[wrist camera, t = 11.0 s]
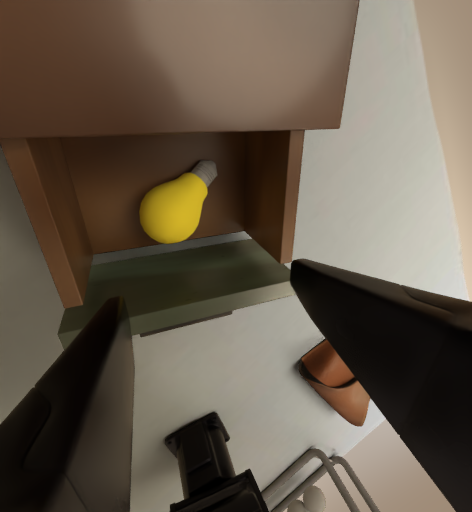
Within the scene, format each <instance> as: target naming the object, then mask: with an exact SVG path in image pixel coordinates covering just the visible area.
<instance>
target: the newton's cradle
mask: <svg viewBox="0 0 472 512" xmlns="http://www.w3.org/2000/svg"><path fill="white" fill-rule="evenodd" d="M313 457H316V458H319V459H321V461H322V462H323V464H324V465H323V466H322V467H320V468H319V469H318V470H317V471H316V472H315V473H314V474H313V475H312V476H310V477H309V478H308V479H307V480H306V481H305V482H304V483H303V484H302V485H300V486H299V487H298V488H297V489H296V490H295V491H294V492H293V493H292V494H291V495H289V496H288V497H287V498H286V499H285V500H284V501H283V502H282V503H281V504H279V505H278V506H277V507H276V508H275V509H274V510H273V511H272V512H283V511H284V510H285V509H286V508H287V507H288V509H287V512H323V511H324V509H325V506H326V501H325V496H324V494H323V492H322V491H321V490H320V489H319V488H318V487H316V486H312V485H313V484H314V483H315V482H316V481H317V480H318V479H319V478H320V477H322V476H323V475H324V474H325V473H326V472H327V471H328V473H329V475H330V476H331V478H332V480H333V481H334V483H335V485H336V487H337V488H338V490H339V492H340V493H341V495H342V497H343V498H344V500H345V502H346V504H347V506H348V507H349V509H350V511H351V512H360V511H359V509H358V507H357V506H356V504H355V503H354V501H353V499H352V497H351V496H350V494H349V492H348V491H347V489H346V487H345V486H344V484H343V483H342V481H341V479H340V477H339V476H338V474H337V473H336V471H335V469H334V467H333V466H334V465H335V464H337V463H339V464H341V465H342V466H343V467H344V468H345V470H346V472H347V473H348V475H349V476H350V478H351V480H352V481H353V482H354V484H355V486H356V487H357V489H358V491H359V492H360V494H361V495H362V497H363V498H364V500H365V502H366V503H367V505H368V506H369V508H370V510H371V511H372V512H380V511H379V509H378V508H377V506H376V505H375V503H374V502H373V500H372V499H371V497H370V496H369V494H368V493H367V491H366V490H365V488H364V487H363V485H362V484H361V482H360V480H359V479H358V477H357V476H356V474H355V473H354V471H353V470H352V468H351V467H350V465H349V464H348V462H347V461H346V460H345V459H344V458H342V457H339V456H334V457H332V458H330V459H328V458H327V456H326V455H325V454H324V452H322V451H321V450H319V449H316V448H314V449H310V450H309V451H307V452H306V453H305V454H304V455H303V456H302V457H301V458H300V459H299V460H297V461H296V462H295V463H294V464H293V465H292V466H291V467H290V468H289V469H288V470H286V471H285V472H284V473H283V474H282V475H281V476H280V477H279V478H278V479H277V480H276V481H274V482H273V483H272V484H271V485H270V486H269V487H268V488H267V489H266V490H265V491H264V492H262V493H261V494H262V497H263V499H264V501H266V500H267V499H268V498H269V497H270V496H271V495H272V494H273V493H274V492H275V491H276V490H278V489H279V488H280V487H281V486H282V485H283V484H284V483H285V482H286V481H287V480H289V479H290V478H291V477H292V476H293V475H294V474H295V473H296V472H297V471H298V470H300V469H301V468H302V467H303V466H304V465H305V464H306V463H307V462H308V461H309V460H311V459H312V458H313ZM303 493H304V494H303ZM302 494H303V502H304V503H303V502H302V501H300V500H296V499H297V498H298V497H299V496H300V495H302Z"/></svg>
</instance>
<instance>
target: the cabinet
mask: <svg viewBox="0 0 472 512" xmlns="http://www.w3.org/2000/svg"><path fill="white" fill-rule="evenodd" d="M358 7H359V0H0V139H22V138H54V137H87V136H120V135H152V134H185V133H218V132H251V131H283V130H316V129H339V128H340V123H341V117H342V111H343V104H344V98H345V91H346V85H347V78H348V72H349V65H350V59H351V52H352V46H353V39H354V33H355V26H356V20H357V13H358Z"/></svg>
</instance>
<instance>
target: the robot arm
mask: <svg viewBox="0 0 472 512" xmlns="http://www.w3.org/2000/svg"><path fill="white" fill-rule="evenodd" d="M290 284H291V287H292V288H293V290H294V292H295V293H296V295H297V297H298V298H299V300H300V302H301V303H302V305H303V307H304V308H305V310H306V312H307V313H308V315H309V316H310V318H311V319H312V321H313V322H314V323H315V325H316V326H317V327H318V329H319V330H320V331H321V333H322V334H323V335H324V337H325V338H326V339H327V341H328V342H329V343H330V345H331V346H332V347H333V349H334V350H335V351H336V353H337V354H338V355H339V357H340V358H341V359H342V361H343V362H344V363H345V365H346V366H347V367H348V369H349V370H350V371H351V373H352V374H353V375H354V377H355V378H356V379H357V380H358V382H359V383H360V384H361V386H362V387H363V388H364V390H365V391H366V392H367V394H368V395H369V396H370V398H371V399H372V400H373V402H374V403H375V404H376V406H377V407H378V408H379V410H380V411H381V412H382V414H383V415H384V416H385V418H386V419H387V420H388V422H389V423H390V424H391V425H392V427H393V428H394V429H395V431H396V432H397V434H399V435H400V438H401V439H402V440H403V442H404V443H405V444H406V446H407V447H408V448H409V450H410V451H411V452H412V454H413V455H414V456H415V458H416V459H417V460H418V462H419V463H420V464H421V466H422V467H423V468H424V470H425V471H426V472H427V474H428V475H429V476H430V478H431V479H432V480H433V482H434V483H435V484H436V486H437V487H438V488H439V490H440V491H441V492H442V494H443V495H444V496H445V498H446V499H447V500H448V502H449V503H450V504H451V506H452V507H453V508H454V510H455V511H456V512H472V302H470V301H465V300H461V299H456V298H452V297H448V296H443V295H439V294H435V293H431V292H427V291H423V290H419V289H415V288H411V287H408V286H404V285H401V286H400V285H399V284H396V283H392V282H389V281H385V280H381V279H378V278H374V277H370V276H366V275H363V274H359V273H355V272H351V271H348V270H344V269H340V268H337V267H333V266H329V265H325V264H322V263H318V262H314V261H310V260H307V259H297V260H294V261H292V263H291V271H290ZM134 376H135V367H134V355H133V345H132V335H131V326H130V319H129V315H128V311H127V307H126V303H125V299H124V297H123V296H117V297H112V298H109V299H108V300H107V301H106V302H105V303H104V304H103V305H102V307H101V308H100V309H99V310H98V311H97V312H96V314H95V315H94V316H93V317H92V318H91V319H90V321H89V322H88V323H87V324H86V325H85V327H84V328H83V329H82V330H81V331H80V332H79V334H78V335H77V336H76V337H75V338H74V340H73V341H72V342H71V343H70V344H69V345H68V347H67V348H66V349H65V350H64V351H63V352H62V354H61V355H60V356H59V357H58V358H57V360H56V361H55V362H54V363H53V364H52V365H51V367H50V368H49V369H48V370H47V371H46V372H45V374H44V375H43V376H42V377H41V378H40V380H39V381H38V382H37V383H36V384H35V388H32V389H31V390H30V391H29V392H28V393H27V395H26V396H25V397H24V398H23V399H22V401H21V402H20V403H19V404H18V405H17V406H16V407H15V408H14V410H13V411H12V412H11V413H10V414H9V415H8V416H7V418H6V419H5V420H4V421H3V422H2V423H1V424H0V512H130V490H131V462H132V433H133V405H134ZM229 439H230V437H229V434H228V433H227V431H226V429H225V427H224V425H223V423H222V422H221V420H220V418H219V416H218V414H217V413H212V414H210V415H208V416H206V417H204V418H202V419H201V420H199V421H197V422H195V423H193V424H191V425H189V426H188V427H186V428H184V429H182V430H180V431H178V432H176V433H174V434H173V435H171V436H169V437H167V438H166V439H165V444H166V446H167V447H168V448H169V449H170V451H171V452H172V453H173V454H174V455H175V457H176V458H177V459H178V465H179V471H180V477H181V483H182V490H183V496H184V500H182V501H180V502H178V503H176V504H175V503H173V504H171V505H170V511H169V512H269V511H268V508H267V506H266V503H265V501H264V499H263V497H262V494H261V492H260V490H259V488H258V485H257V483H256V481H255V479H254V476H253V474H252V472H251V470H250V469H248V470H245V472H243V473H241V474H239V475H237V476H236V474H235V471H234V468H233V465H232V462H231V458H230V455H229V452H228V449H227V446H226V442H227V441H229Z"/></svg>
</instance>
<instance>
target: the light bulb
mask: <svg viewBox="0 0 472 512" xmlns="http://www.w3.org/2000/svg"><path fill="white" fill-rule="evenodd" d="M215 177H217V170H216V164H215V163H214V162H213V161H211V160H210V161H207V160H200V162H199V163H198V164H197V165H196V166H195V167H194V170H192V171H191V173H184V174H182V175H181V176H180V177H179V178H177V179H175V180H172V181H169V182H167V183H164V184H161V185H159V186H156V187H154V188H153V189H152V190H150V191H149V192H148V193H147V194H146V195H145V197H144V199H143V200H142V202H141V206H140V210H139V214H140V223H141V225H142V227H143V229H144V231H145V232H146V233H147V234H148V235H149V236H150V237H151V238H152V239H154V240H156V241H158V242H160V243H166V244H171V243H178V242H180V241H183V240H185V239H187V238H188V237H189V236H190V235H191V234H192V233H194V231H195V229H196V228H197V226H198V224H199V220H200V215H201V210H202V204H203V201H204V199H205V197H206V195H207V194H208V192H207V187H208V186H209V185H210V184H211V183H212V181H213V180H214V179H215Z"/></svg>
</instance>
